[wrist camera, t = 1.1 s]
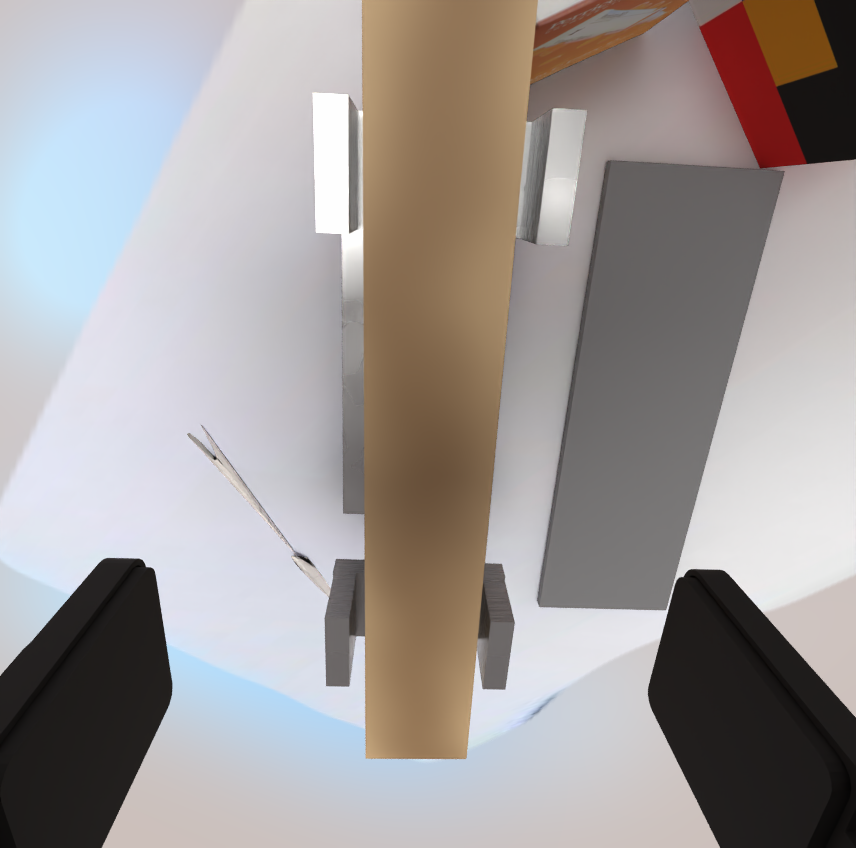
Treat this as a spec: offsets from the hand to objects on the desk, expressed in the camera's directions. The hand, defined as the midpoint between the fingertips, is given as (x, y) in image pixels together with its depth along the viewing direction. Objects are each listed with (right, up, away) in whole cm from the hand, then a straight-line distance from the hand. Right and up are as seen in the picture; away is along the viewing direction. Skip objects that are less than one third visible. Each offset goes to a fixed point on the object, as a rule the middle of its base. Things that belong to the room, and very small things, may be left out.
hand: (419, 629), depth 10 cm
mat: (+12, +4, +20) cm, 24 cm away
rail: (0, +4, +8) cm, 9 cm away
